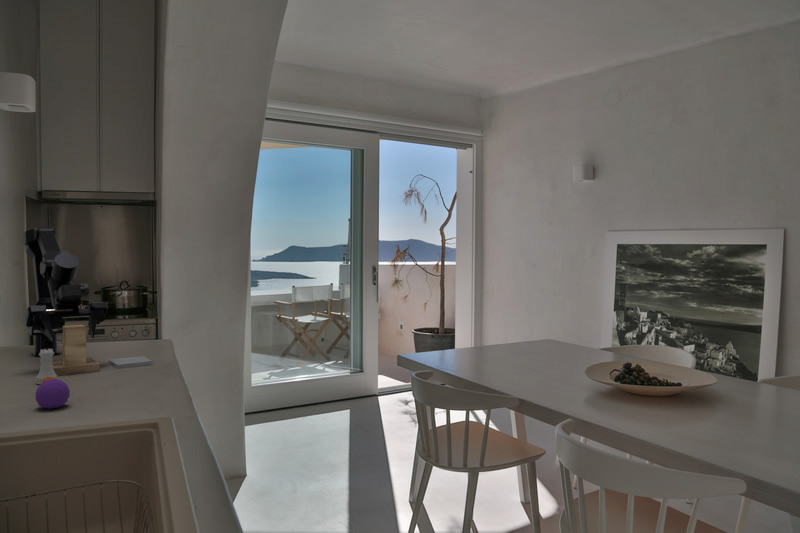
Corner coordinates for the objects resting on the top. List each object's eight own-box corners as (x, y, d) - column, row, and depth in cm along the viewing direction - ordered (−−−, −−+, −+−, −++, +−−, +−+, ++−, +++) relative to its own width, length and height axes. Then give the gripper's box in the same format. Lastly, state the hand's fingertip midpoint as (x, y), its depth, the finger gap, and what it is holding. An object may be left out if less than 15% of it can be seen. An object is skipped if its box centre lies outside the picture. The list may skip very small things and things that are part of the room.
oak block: (62, 364, 150) (62, 325, 150) (82, 362, 153) (82, 324, 152) (66, 367, 146) (66, 327, 146) (85, 365, 149) (85, 326, 149)
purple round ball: (67, 371, 133) (73, 382, 117) (61, 397, 133) (67, 412, 116) (36, 369, 130) (39, 379, 113) (31, 396, 129) (32, 410, 113)
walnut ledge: (44, 369, 152) (44, 362, 152) (90, 364, 159) (90, 357, 159) (51, 376, 145) (51, 368, 145) (99, 371, 152) (99, 363, 152)
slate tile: (108, 363, 162) (108, 359, 162) (142, 359, 168) (142, 356, 168) (117, 368, 155) (117, 364, 155) (152, 364, 161) (152, 361, 161)
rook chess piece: (61, 381, 140) (61, 348, 140) (48, 385, 136) (48, 351, 135) (44, 380, 140) (44, 347, 140) (31, 384, 136) (30, 350, 136)
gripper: (26, 274, 147) (36, 321, 139) (106, 272, 160) (119, 316, 152) (20, 303, 153) (30, 350, 145) (97, 299, 166) (110, 342, 158)
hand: (73, 338), depth 150 cm, fingers open, 9 cm apart
